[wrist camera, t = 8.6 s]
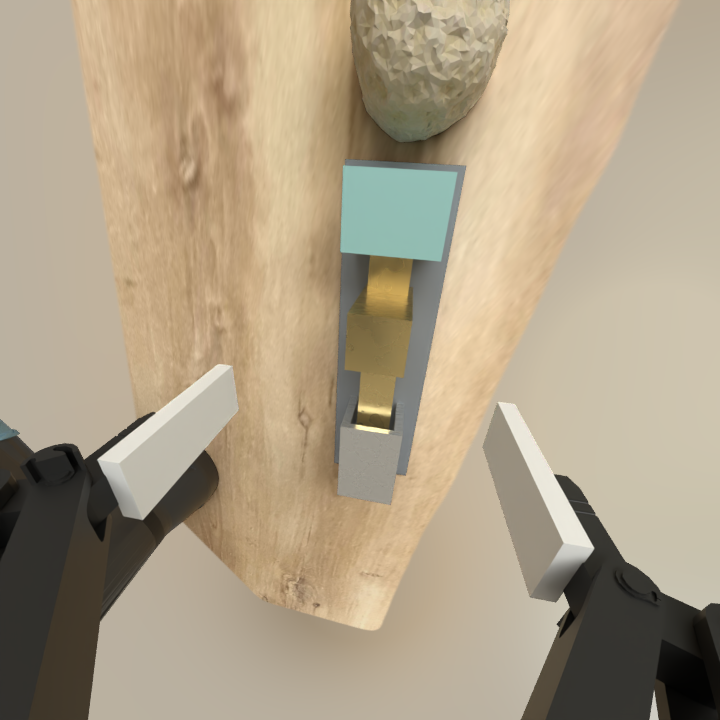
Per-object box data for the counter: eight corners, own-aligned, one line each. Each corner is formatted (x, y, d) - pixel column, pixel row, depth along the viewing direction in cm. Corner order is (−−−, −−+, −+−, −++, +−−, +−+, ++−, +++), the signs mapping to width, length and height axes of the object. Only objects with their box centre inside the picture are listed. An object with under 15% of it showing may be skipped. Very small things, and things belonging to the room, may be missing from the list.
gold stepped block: (357, 409, 33) (339, 474, 25) (373, 205, 23) (352, 203, 15) (394, 415, 32) (387, 482, 24) (424, 209, 23) (429, 208, 15)
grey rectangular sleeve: (347, 459, 37) (337, 494, 32) (351, 395, 32) (340, 426, 28) (393, 467, 36) (390, 504, 31) (404, 403, 32) (402, 436, 27)
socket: (354, 244, 25) (340, 252, 20) (358, 175, 23) (343, 165, 18) (435, 251, 24) (441, 261, 19) (448, 180, 22) (457, 172, 17)
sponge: (454, -2, 21) (388, -234, 13) (557, 51, 18) (556, -220, 9) (370, 125, 25) (278, 9, 17) (440, 188, 22) (368, 81, 13)
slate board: (335, 458, 38) (334, 462, 37) (347, 160, 23) (345, 159, 22) (405, 470, 37) (405, 475, 36) (464, 167, 22) (466, 165, 21)
